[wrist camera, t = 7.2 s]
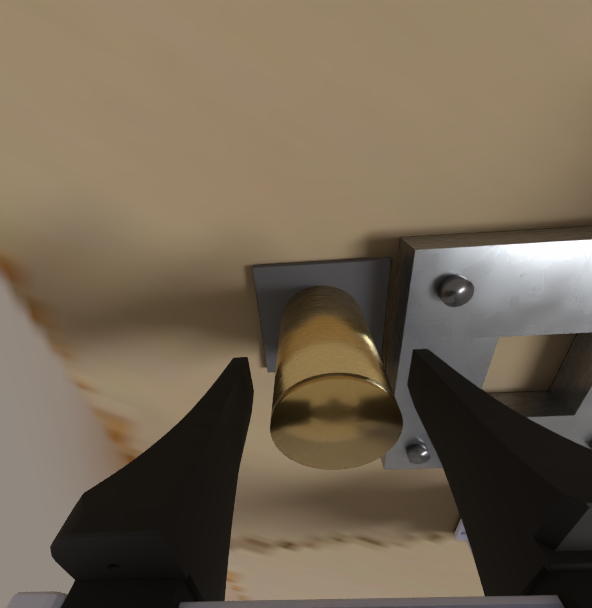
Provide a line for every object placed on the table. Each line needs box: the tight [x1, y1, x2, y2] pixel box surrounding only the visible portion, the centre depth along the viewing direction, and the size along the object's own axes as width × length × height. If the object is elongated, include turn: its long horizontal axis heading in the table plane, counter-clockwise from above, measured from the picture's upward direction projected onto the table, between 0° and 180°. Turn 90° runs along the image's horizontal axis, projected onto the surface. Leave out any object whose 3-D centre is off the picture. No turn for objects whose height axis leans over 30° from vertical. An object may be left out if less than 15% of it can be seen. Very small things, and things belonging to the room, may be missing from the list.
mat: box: [253, 257, 391, 372], centre depth 16 cm, size 7×7×1 cm
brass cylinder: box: [270, 286, 403, 470], centre depth 13 cm, size 5×5×7 cm
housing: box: [381, 226, 592, 470], centre depth 17 cm, size 16×16×2 cm
